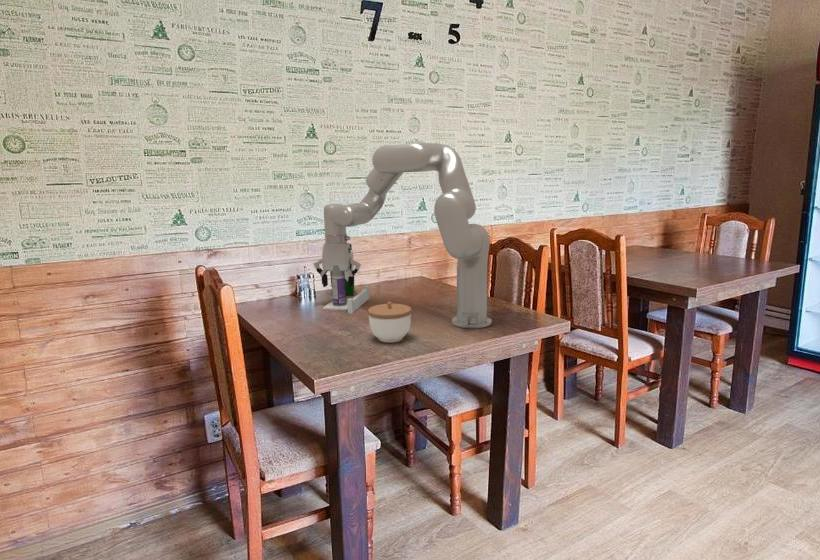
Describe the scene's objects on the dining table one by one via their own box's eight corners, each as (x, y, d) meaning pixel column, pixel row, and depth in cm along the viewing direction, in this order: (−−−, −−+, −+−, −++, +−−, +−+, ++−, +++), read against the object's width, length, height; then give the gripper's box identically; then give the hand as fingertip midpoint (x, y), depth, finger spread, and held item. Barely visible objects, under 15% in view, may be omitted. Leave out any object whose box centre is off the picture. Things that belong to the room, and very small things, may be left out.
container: (346, 302, 203) (344, 262, 199) (345, 306, 198) (343, 265, 195) (333, 303, 202) (331, 263, 199) (332, 306, 198) (330, 265, 195)
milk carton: (356, 296, 216) (354, 245, 212) (333, 298, 213) (331, 246, 209) (352, 291, 224) (350, 242, 220) (329, 293, 221) (327, 243, 217)
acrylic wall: (352, 313, 190) (351, 299, 189) (347, 313, 191) (347, 299, 190) (369, 298, 211) (369, 285, 210) (365, 298, 211) (364, 285, 210)
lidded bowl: (360, 339, 162) (358, 302, 160) (391, 329, 171) (390, 295, 169) (389, 348, 154) (387, 310, 151) (420, 338, 162) (420, 301, 160)
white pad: (347, 310, 195) (347, 308, 195) (323, 309, 197) (322, 307, 197) (354, 303, 204) (354, 302, 204) (331, 303, 206) (331, 301, 206)
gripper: (362, 238, 197) (364, 284, 201) (316, 237, 201) (319, 283, 204) (356, 241, 190) (358, 289, 194) (308, 240, 194) (311, 288, 197)
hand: (338, 286), depth 199 cm, fingers open, 9 cm apart
